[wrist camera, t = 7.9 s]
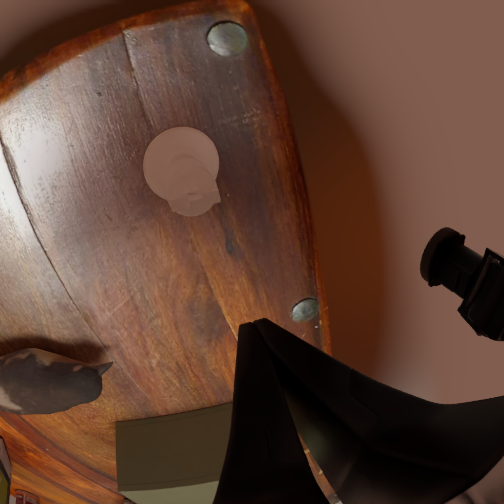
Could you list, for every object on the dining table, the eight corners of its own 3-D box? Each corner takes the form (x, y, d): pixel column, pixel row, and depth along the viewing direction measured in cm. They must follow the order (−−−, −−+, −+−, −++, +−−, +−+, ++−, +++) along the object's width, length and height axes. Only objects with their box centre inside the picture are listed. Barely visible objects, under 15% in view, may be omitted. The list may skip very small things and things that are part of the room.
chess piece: (223, 192, 19) (276, 256, 11) (151, 208, 18) (143, 288, 10) (213, 120, 17) (263, 118, 9) (136, 135, 16) (105, 148, 8)
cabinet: (240, 400, 29) (265, 469, 21) (250, 445, 35) (269, 498, 27) (115, 421, 26) (118, 491, 18) (152, 463, 32) (160, 517, 24)
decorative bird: (129, 376, 24) (129, 419, 19) (-37, 384, 18) (-48, 413, 14) (104, 324, 21) (97, 369, 17) (-64, 344, 15) (-80, 373, 11)
